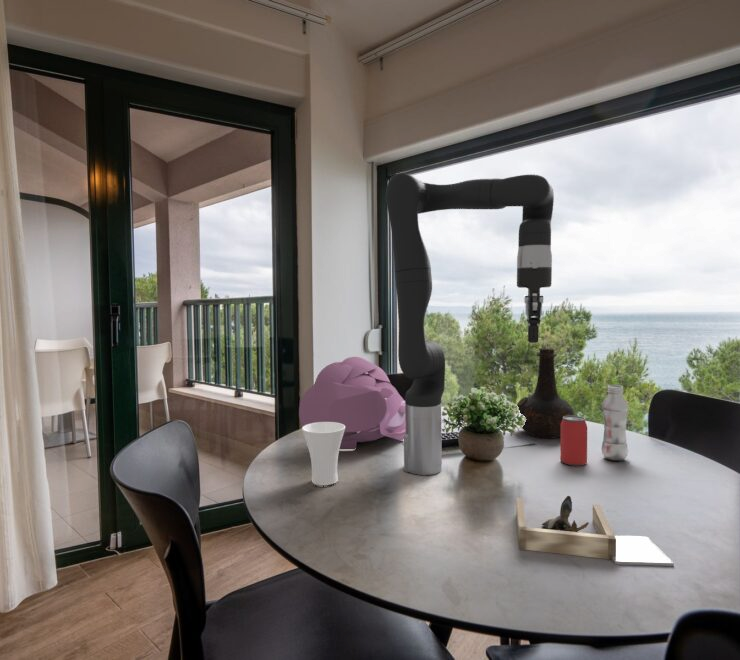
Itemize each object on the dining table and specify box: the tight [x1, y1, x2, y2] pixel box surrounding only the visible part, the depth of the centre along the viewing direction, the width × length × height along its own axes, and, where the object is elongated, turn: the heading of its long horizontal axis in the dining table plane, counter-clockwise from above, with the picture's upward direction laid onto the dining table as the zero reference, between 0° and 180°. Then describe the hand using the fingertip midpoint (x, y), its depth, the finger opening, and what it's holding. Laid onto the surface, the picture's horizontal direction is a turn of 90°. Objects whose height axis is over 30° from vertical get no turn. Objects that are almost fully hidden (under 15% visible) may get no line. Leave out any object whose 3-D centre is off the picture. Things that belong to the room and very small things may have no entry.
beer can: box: [559, 415, 588, 467], centre depth 129 cm, size 7×7×12 cm
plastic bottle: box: [601, 384, 629, 462], centre depth 131 cm, size 6×7×20 cm
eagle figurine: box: [541, 495, 590, 532], centre depth 90 cm, size 8×7×9 cm
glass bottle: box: [516, 347, 576, 439], centre depth 156 cm, size 18×18×28 cm
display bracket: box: [515, 497, 616, 560], centre depth 90 cm, size 15×14×4 cm
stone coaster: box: [611, 535, 675, 567], centre depth 84 cm, size 9×9×1 cm
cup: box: [301, 422, 345, 485], centre depth 118 cm, size 10×10×14 cm
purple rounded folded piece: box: [298, 356, 406, 449], centre depth 151 cm, size 35×24×28 cm
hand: (533, 342), depth 112 cm, fingers closed
